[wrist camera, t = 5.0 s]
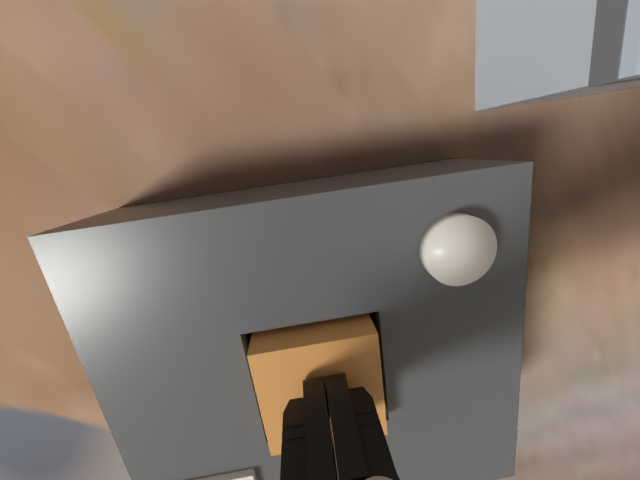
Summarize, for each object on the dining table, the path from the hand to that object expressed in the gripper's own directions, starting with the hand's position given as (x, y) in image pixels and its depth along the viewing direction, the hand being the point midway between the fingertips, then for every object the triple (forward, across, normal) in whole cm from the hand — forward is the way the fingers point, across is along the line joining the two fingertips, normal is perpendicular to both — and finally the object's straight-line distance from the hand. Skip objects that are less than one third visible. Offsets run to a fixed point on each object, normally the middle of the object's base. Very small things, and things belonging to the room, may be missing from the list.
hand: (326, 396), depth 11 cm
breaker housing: (+6, 0, 0) cm, 6 cm away
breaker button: (+5, 0, 0) cm, 5 cm away
